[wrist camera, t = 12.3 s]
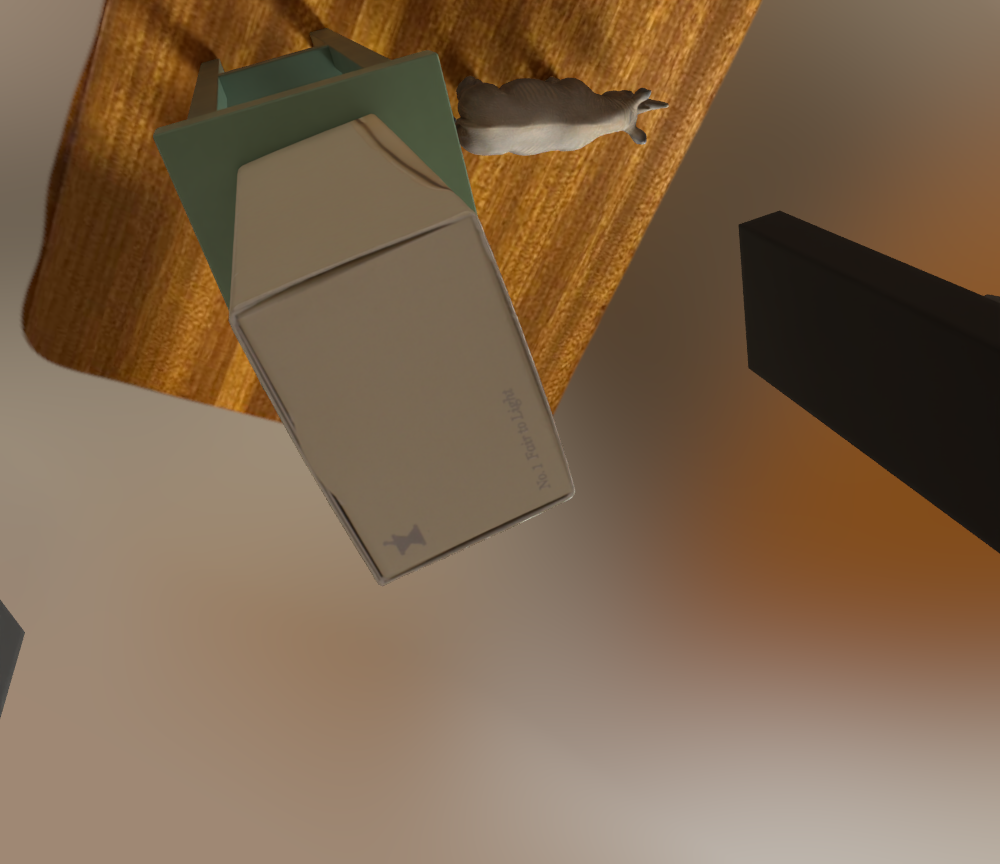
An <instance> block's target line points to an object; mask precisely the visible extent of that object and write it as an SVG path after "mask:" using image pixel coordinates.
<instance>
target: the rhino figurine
mask: <svg viewBox="0 0 1000 864" xmlns="http://www.w3.org/2000/svg"><path fill="white" fill-rule="evenodd" d="M456 92H457V99H458V100H459V103H458V112H459V114H460V116H461V117H460V118H459V119H457V121H456V119H455V118H454V117H453V118H454V122H455V126H456V130H457V134H458V138H459V142H460V144H461V146H462V147H463V148H464V149H466V150H467V151H468V152H470V153H473V154H477V155H501V154H504V153H507V152H511V153H514V154H517V155H534V154H538V153H542V152H547V151H554V150H559V151H573V150H577V149H580V148H582V147H583V146H585V145H587V144H589V143H590V142H592V141H593V140H594V139H596V138H597V137H599V136H602V135H604V134H609V133H613V132H618V131H625V132H626V133H628V134H629V135H630V136H631V138H632V139H633V141H634V142H635V143H637V144H645V143H646V134H645V133H644V131H642V130H641V129H639V128H637V127H636V121H637V115H638V114H640V113H643V112H646V111H649V110H654V109H660V108H667V107H668V103H665V102H661V101H655V100H651V99H648V98H649V96H650V94H651V90H647V89H645V88H640V89H639V90H638V91H636V92H635V94H633V93H632V92H631V91H627V90H622V91H608V92H605V93H604V94H603V95H599V94H596V93H594V92H593V91H592V90H591V89H590V88H589V87H587V86H586V85H585V84H584V83H583V82H582V81H580V80H578V79H576V78H565V79H562V80H559V79H557V78H555V77H549V78H548V79H547V80H545V81H542V80H539V79H530V78H523V79H516V80H513V81H511V82H508V83H506V84H503V85H502V86H501V87H500V88H499V89H498V87H497V86H495V85H493V84H488V83H483V82H482V81H481V80H478V79H475V78H474V77H473V76H468V77H466V78H465V79H464V80H463V81H462V82H460V83H459V85H458V87H457V90H456Z"/></svg>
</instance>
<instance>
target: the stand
mask: <svg viewBox="0 0 1000 864" xmlns="http://www.w3.org/2000/svg"><path fill="white" fill-rule="evenodd" d="M310 36H311V39H312V42H313V45H314V47H312V48H308V49H305V50H301V51H298V52H294V53H291V54H287V55H284V56H280V57H277V58H273V59H270V60H266V61H263V62H259V63H256V64H252V65H249V66H245V67H242V68H238V69H235V70H231V71H228V72H224V70H223V67H222V65H221V62H220V59H215V60H211V61H208V62H204V63H201V66H200V70H199V74H198V78H197V82H196V86H195V90H194V94H193V98H192V102H191V106H190V110H189V114H188V118H187V119H191V118H194V117H198V116H201V115H204V114H208V113H211V112H215V111H218V110H222V109H225V108H229V107H232V106H235V105H239V104H242V103H246V102H249V101H253V100H256V99H260V98H263V97H266V96H270V95H273V94H277V93H280V92H284V91H287V90H291V89H294V88H297V87H301V86H304V85H308V84H311V83H315V82H318V81H322V80H325V79H328V78H332V77H335V76H339V75H342V74H346V73H349V72H353V71H356V70H359V69H363V68H366V67H370V66H373V65H377V64H380V63H384V62H387V61H390V59H388V58H386V57H384V56H382V55H380V54H378V53H376V52H374V51H372V50H370V49H368V48H366V47H364V46H362V45H360V44H358V43H356V42H354V41H352V40H350V39H348V38H346V37H344V36H342V35H340V34H338V33H336V32H334V31H332V30H330V29H328V28H325V29H321V30H317V31H314V32H310Z"/></svg>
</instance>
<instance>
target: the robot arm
mask: <svg viewBox="0 0 1000 864" xmlns="http://www.w3.org/2000/svg"><path fill="white" fill-rule="evenodd" d="M739 237H740V252H741V265H742V280H743V295H744V310H745V324H746V339H747V352H748V367H749V369H751V370H752V371H753V372H755V373H756V374H757V375H759V376H760V377H761V378H763V379H764V380H766V381H767V382H768V383H770V384H771V385H772V386H774V387H775V388H777V389H778V390H779V391H780V392H782V393H783V394H785V395H786V396H787V397H789V398H790V399H791V400H793V401H794V402H796V403H797V404H798V405H799V406H801V407H802V408H804V409H805V410H806V411H808V412H809V413H810V414H812V415H813V416H814V417H816V418H817V419H818V420H820V421H821V422H822V423H824V424H825V425H826V426H828V427H829V428H831V429H832V430H833V431H835V432H836V433H837V434H839V435H840V436H841V437H843V438H844V439H845V440H847V441H848V442H850V443H851V444H852V445H854V446H855V447H856V448H858V449H859V450H860V451H862V452H863V453H865V454H866V455H867V456H869V457H870V458H871V459H873V460H874V461H876V462H877V463H878V464H879V465H881V466H882V467H883V468H885V469H887V471H889V472H890V473H891V474H893V475H894V476H896V477H897V478H898V479H900V480H901V481H902V482H904V483H905V484H907V485H908V486H909V487H910V488H912V489H913V490H915V491H916V492H917V493H919V494H920V495H921V496H923V497H924V498H925V499H927V500H928V501H930V502H931V503H932V504H934V505H935V506H936V507H938V508H939V509H940V510H942V511H943V512H944V513H946V514H947V515H948V516H950V517H951V518H952V519H954V520H955V521H957V522H958V523H959V524H961V525H962V526H963V527H965V528H966V529H967V530H969V531H970V532H972V533H973V534H974V535H976V536H977V537H978V538H980V539H981V540H982V541H984V542H985V543H986V544H988V545H989V546H990V547H992V548H993V549H994V550H996V551H997V552H999V553H1000V297H999V296H994V295H985V296H982V295H979V294H977V293H975V292H972V291H970V290H967V289H965V288H963V287H960V286H958V285H956V284H953V283H951V282H948V281H946V280H944V279H941V278H939V277H937V276H934V275H932V274H929V273H927V272H925V271H922V270H919V269H917V268H915V267H913V266H910V265H908V264H906V263H903V262H901V261H898V260H896V259H894V258H891V257H889V256H886V255H884V254H882V253H879V252H877V251H874V250H872V249H870V248H867V247H865V246H862V245H860V244H858V243H855V242H853V241H851V240H848V239H846V238H844V237H841V236H838V235H836V234H834V233H832V232H829V231H827V230H824V229H822V228H819V227H817V226H815V225H812V224H810V223H808V222H805V221H803V220H801V219H798V218H796V217H793V216H791V215H789V214H786V213H784V212H782V211H777V212H775V213H771V214H769V215H765V216H762V217H760V218H757V219H754V220H751V221H748V222H745V223H742V224H739ZM24 634H25V632H24V631H23V629H22V628H21V627H20V625H19V624H18V623H17V621H16V620H15V619H14V617H13V616H12V615H11V613H10V612H9V611H8V610H7V608H6V607H5V605H4V604H3V603H2V602H1V600H0V717H1V714H2V710H3V707H4V703H5V700H6V696H7V693H8V689H9V686H10V682H11V679H12V675H13V672H14V668H15V665H16V661H17V658H18V654H19V651H20V648H21V644H22V641H23V637H24Z"/></svg>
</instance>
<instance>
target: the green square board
mask: <svg viewBox="0 0 1000 864" xmlns="http://www.w3.org/2000/svg"><path fill="white" fill-rule="evenodd" d="M369 114H375V115H376V116H377V117H378V118H379V119H380V120H381V121H382V122H383V123H384V124H385V125H386V126H387V127H388V128H389V129H391V130H392V131H393V132H394V133H395V134H396V135H397V136H398V137H399V138H400V139H401V140H402V141H403V142H404V143H405V144H406V145H407V146H408V147H409V148H410V149H411V150H412V151H413V152H414V153H415V154H416V155H417V156H418V157H419V158H420V159H421V160H422V161H423V162H424V163H425V164H426V165H427V166H428V167H429V168H430V169H431V170H432V171H433V172H434V173H435V174H436V175H437V176H439V178H440V179H441V180H442V181H443V182H444V183H445V184H446V185H447V186H448V187H449V188H450V189H451V190H452V191H453V192H454V193H455V194H456V195H457V196H459V197H460V198H461V199H462V200H463V201H464V202H465V204H466V205H467V206H468V207H469V208H470V209H472V210H473V211H474V212H475V213H476V215H477V212H476V208H475V204H474V199H473V195H472V191H471V187H470V183H469V179H468V175H467V171H466V167H465V163H464V159H463V155H462V151H461V146H460V142H459V138H458V134H457V130H456V126H455V122H454V118H453V114H452V110H451V106H450V102H449V98H448V94H447V89H446V85H445V81H444V77H443V73H442V69H441V65H440V61H439V57H438V54H437V53H435V52H433V51H430V50H425V51H421V52H418V53H415V54H411V55H408V56H404V57H401V58H397V59H394V60H390V61H387V62H384V63H380V64H377V65H373V66H370V67H366V68H363V69H359V70H356V71H353V72H349V73H346V74H342V75H339V76H335V77H332V78H328V79H325V80H322V81H318V82H315V83H311V84H308V85H304V86H301V87H297V88H294V89H291V90H287V91H284V92H280V93H277V94H273V95H270V96H266V97H263V98H260V99H256V100H253V101H249V102H246V103H242V104H239V105H235V106H232V107H229V108H225V109H222V110H218V111H215V112H211V113H208V114H204V115H201V116H198V117H194V118H191V119H187V120H184V121H180V122H177V123H173V124H170V125H167V126H163V127H160V128H157V129H156V130H155V133H154V135H153V138H154V140H155V143H156V145H157V147H158V150H159V152H160V154H161V156H162V159H163V161H164V163H165V166H166V168H167V170H168V172H169V175H170V177H171V179H172V182H173V184H174V186H175V188H176V191H177V193H178V195H179V198H180V200H181V202H182V204H183V207H184V209H185V211H186V214H187V216H188V218H189V220H190V223H191V225H192V227H193V230H194V232H195V234H196V236H197V239H198V241H199V243H200V246H201V248H202V250H203V252H204V255H205V257H206V259H207V261H208V264H209V266H210V268H211V271H212V273H213V275H214V277H215V280H216V282H217V284H218V287H219V289H220V291H221V293H222V296H223V298H224V300H225V303H226V305H227V307H228V309H229V307H230V291H231V277H232V260H233V242H234V226H235V208H236V192H237V173H238V169H239V168H240V167H241V166H242V165H244V164H247V163H249V162H251V161H254V160H256V159H258V158H261V157H263V156H265V155H268V154H270V153H272V152H275V151H277V150H280V149H282V148H285V147H287V146H289V145H292V144H294V143H297V142H299V141H302V140H304V139H307V138H309V137H312V136H314V135H317V134H319V133H322V132H324V131H327V130H329V129H332V128H335V127H337V126H340V125H343V124H345V123H348V122H351V121H353V120H356V119H359V118H361V117H364V116H366V115H369ZM477 217H478V216H477ZM261 385H262V384H261ZM262 387H263V386H262ZM263 389H264V388H263ZM264 390H265V389H264Z"/></svg>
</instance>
